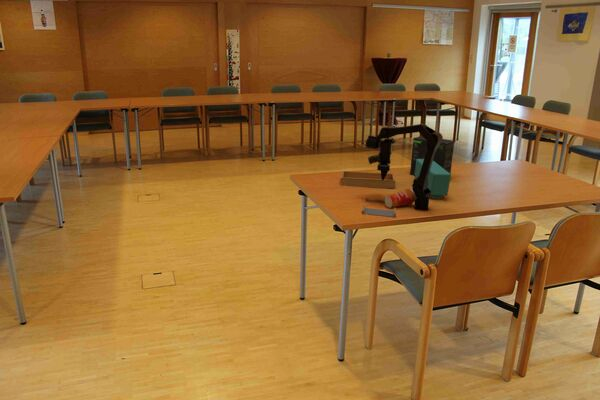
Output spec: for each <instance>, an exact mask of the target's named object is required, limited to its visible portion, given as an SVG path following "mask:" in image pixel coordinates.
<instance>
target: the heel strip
mask: <svg viewBox="0 0 600 400" xmlns="http://www.w3.org/2000/svg"><path fill="white" fill-rule="evenodd" d="M364 202H367V203H368V202H369V203H378V204H385V199H380V198H369V197H365V201H364Z"/></svg>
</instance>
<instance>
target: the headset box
mask: <svg viewBox="0 0 600 400" xmlns="http://www.w3.org/2000/svg"><path fill="white" fill-rule="evenodd" d="M426 142H427V140H426V139H425V138H424V137H423V136H422V135H420V136H417V137H413V139H412V149H411V159H410V160H411V161H410V171H409V175H410V176H414V177H415V169H416V159H424V157H425V154H426V151H427V147H426ZM454 146H455V140H451V139H445V138H443V139H442V142H441V143H440V145H439V147H438V148H437V150H436V152H435V155H434V158H433V161H434V162H436V163H437V164H438V165H439V166H441V167H442V168H443V169H445V170H446V171H447V172H448V173H450V174H451V173H452V163H453V154H454ZM451 175H452V174H451Z"/></svg>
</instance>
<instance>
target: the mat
mask: <svg viewBox="0 0 600 400" xmlns="http://www.w3.org/2000/svg"><path fill="white" fill-rule="evenodd" d="M366 214H368V215H367V216H376V217H377V216H379V217H388V218H397V208H396V207H393V210H392V209H391V210H390V209H379V208H369V207H367V205H366V204H363V205H362V209H361V215H366Z"/></svg>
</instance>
